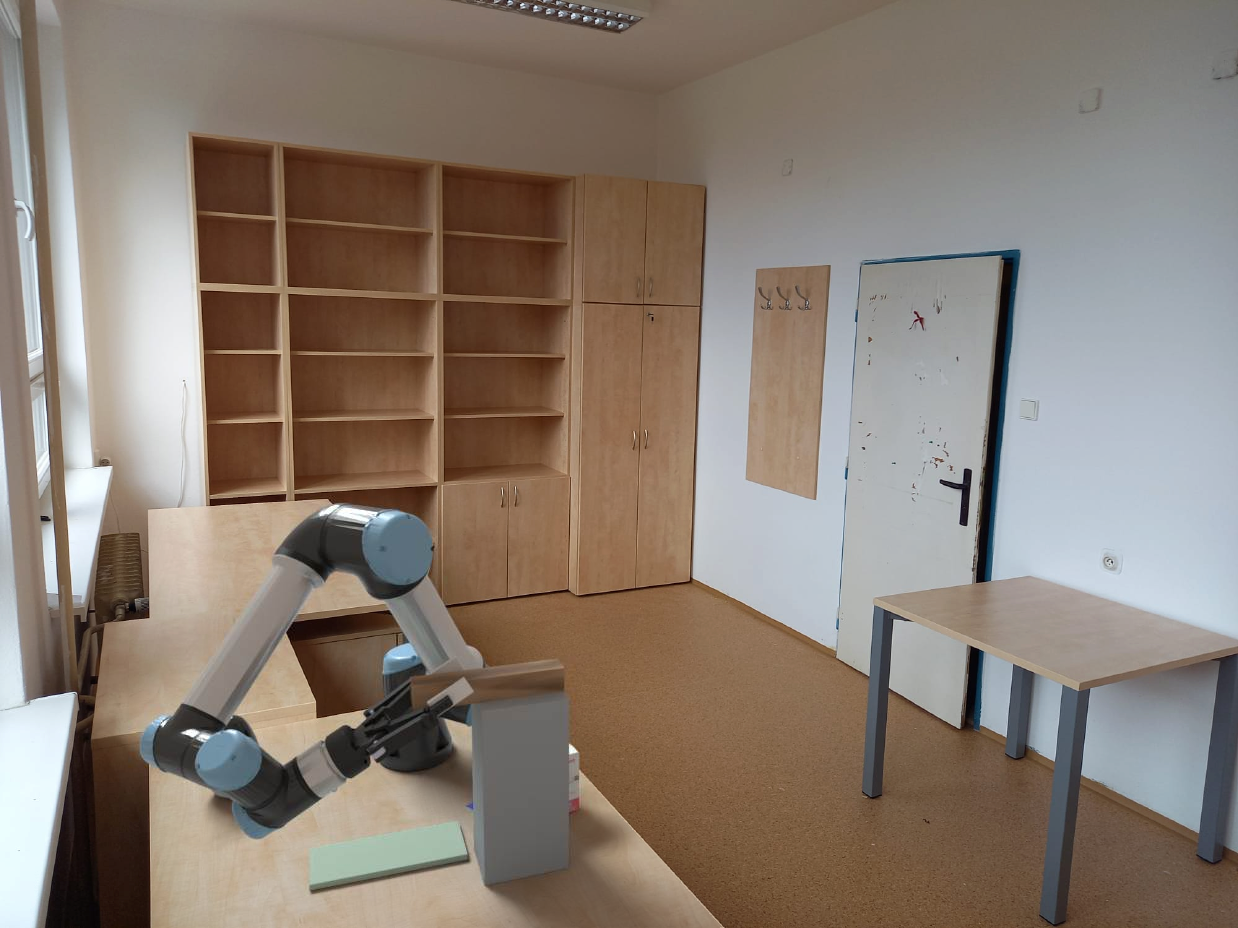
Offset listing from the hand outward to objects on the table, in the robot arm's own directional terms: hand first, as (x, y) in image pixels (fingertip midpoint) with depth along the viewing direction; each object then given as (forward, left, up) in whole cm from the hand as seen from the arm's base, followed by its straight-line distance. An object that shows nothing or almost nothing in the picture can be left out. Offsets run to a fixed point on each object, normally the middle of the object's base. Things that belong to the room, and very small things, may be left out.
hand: (464, 673), depth 135 cm
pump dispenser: (-37, -38, -35) cm, 63 cm away
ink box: (-12, +18, -35) cm, 41 cm away
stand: (0, +9, -34) cm, 35 cm away
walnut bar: (0, +4, -4) cm, 6 cm away
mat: (-8, -12, -34) cm, 37 cm away
